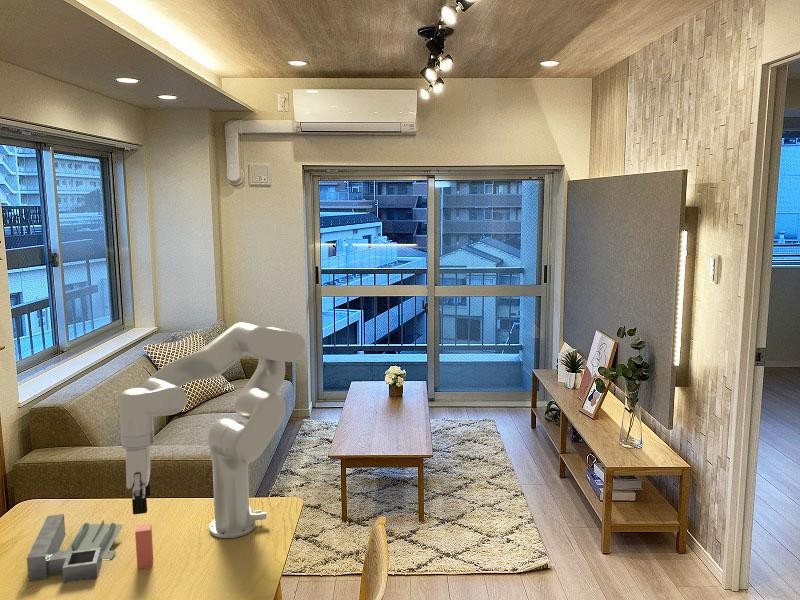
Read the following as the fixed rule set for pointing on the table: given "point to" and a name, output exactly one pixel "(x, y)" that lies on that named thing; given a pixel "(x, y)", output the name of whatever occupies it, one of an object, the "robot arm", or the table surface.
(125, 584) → the table surface
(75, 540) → the metal bracket
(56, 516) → the grey socket fixture
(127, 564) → the table surface
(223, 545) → the table surface
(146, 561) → the red rectangular block
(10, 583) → the table surface
